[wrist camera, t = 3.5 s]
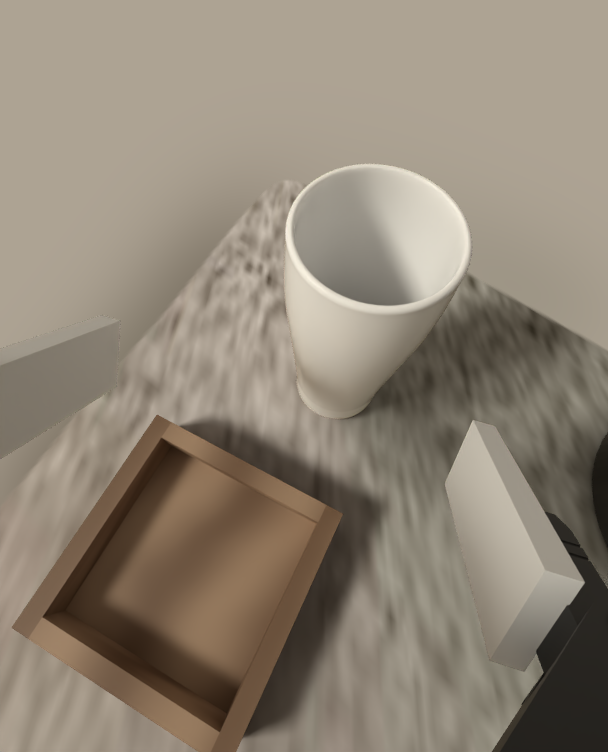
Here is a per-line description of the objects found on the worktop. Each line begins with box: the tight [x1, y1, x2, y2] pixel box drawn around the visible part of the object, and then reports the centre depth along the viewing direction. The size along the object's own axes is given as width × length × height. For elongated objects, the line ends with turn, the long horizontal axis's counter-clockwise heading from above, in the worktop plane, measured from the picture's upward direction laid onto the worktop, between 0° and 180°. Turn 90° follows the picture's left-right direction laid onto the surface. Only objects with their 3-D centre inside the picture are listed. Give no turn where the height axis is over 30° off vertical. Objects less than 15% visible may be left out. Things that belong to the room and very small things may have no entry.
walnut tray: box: [12, 415, 343, 752], centre depth 22 cm, size 12×12×3 cm
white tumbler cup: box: [284, 164, 472, 419], centre depth 21 cm, size 7×7×15 cm
